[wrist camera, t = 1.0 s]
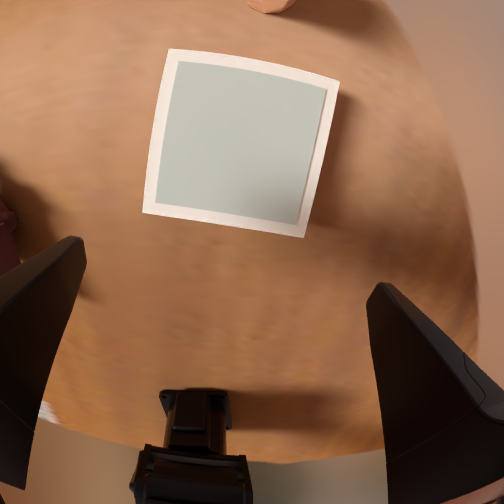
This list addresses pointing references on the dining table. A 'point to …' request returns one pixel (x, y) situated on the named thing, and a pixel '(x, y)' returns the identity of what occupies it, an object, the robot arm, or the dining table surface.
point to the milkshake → (270, 5)
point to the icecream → (7, 240)
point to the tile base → (238, 142)
